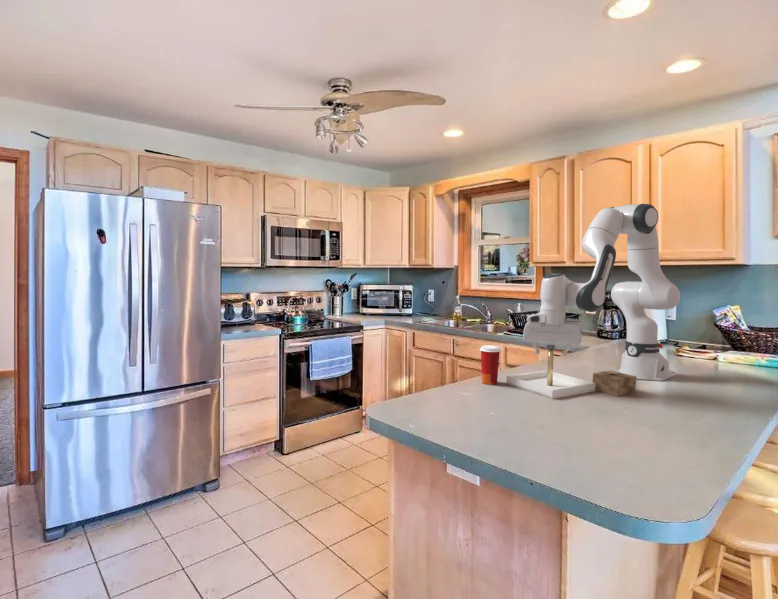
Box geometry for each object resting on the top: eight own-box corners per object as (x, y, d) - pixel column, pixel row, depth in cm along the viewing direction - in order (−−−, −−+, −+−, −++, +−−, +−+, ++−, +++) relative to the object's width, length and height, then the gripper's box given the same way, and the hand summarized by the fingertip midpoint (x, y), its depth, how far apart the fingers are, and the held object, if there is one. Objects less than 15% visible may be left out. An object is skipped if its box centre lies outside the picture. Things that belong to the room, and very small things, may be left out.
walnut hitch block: (609, 386, 170) (610, 370, 170) (635, 392, 161) (636, 376, 161) (592, 389, 165) (593, 373, 165) (617, 396, 156) (618, 379, 156)
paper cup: (498, 380, 176) (499, 345, 175) (501, 385, 169) (502, 348, 168) (477, 380, 177) (478, 344, 176) (479, 385, 170) (480, 348, 169)
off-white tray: (547, 377, 182) (547, 370, 182) (595, 391, 163) (595, 382, 163) (506, 383, 172) (506, 376, 172) (552, 399, 153) (552, 390, 152)
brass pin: (549, 383, 169) (550, 344, 168) (555, 385, 167) (557, 345, 166) (543, 384, 168) (544, 344, 167) (550, 386, 165) (551, 346, 164)
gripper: (582, 318, 165) (581, 355, 166) (524, 315, 172) (523, 351, 173) (583, 320, 159) (581, 358, 160) (523, 317, 166) (521, 354, 167)
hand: (551, 354), depth 167 cm, fingers open, 8 cm apart
